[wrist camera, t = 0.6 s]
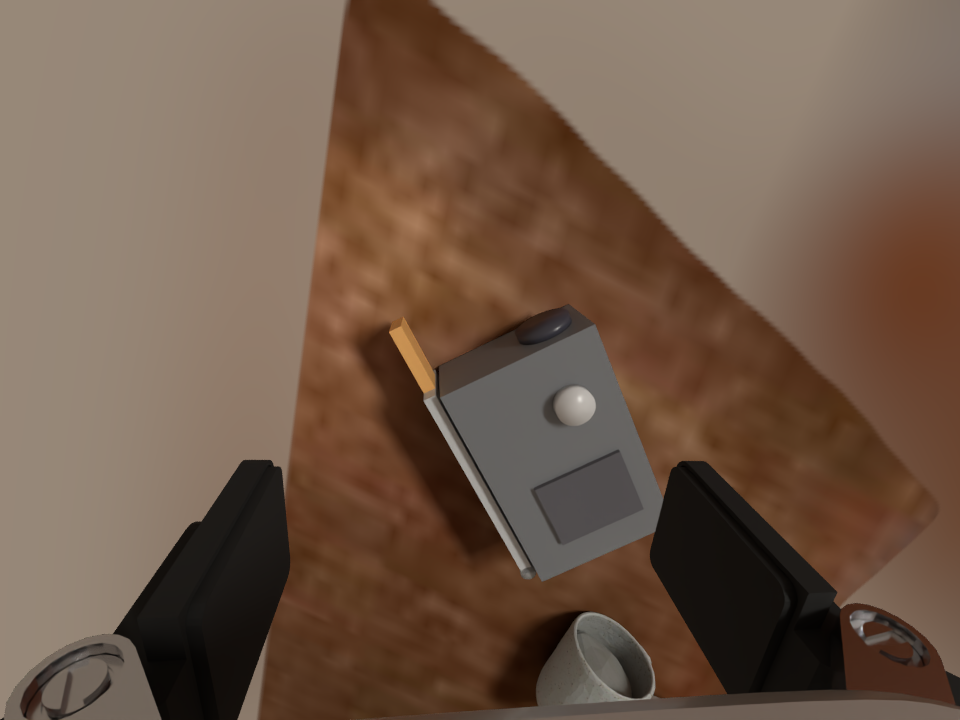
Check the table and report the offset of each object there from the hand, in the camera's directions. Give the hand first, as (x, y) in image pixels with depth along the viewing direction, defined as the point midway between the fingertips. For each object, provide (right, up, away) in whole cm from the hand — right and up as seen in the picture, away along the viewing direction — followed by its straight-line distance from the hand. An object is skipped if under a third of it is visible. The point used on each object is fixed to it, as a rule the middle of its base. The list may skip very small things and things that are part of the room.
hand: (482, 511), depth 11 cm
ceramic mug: (+10, -23, +32) cm, 41 cm away
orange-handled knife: (-1, -2, +23) cm, 23 cm away
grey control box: (+5, -1, +24) cm, 24 cm away
